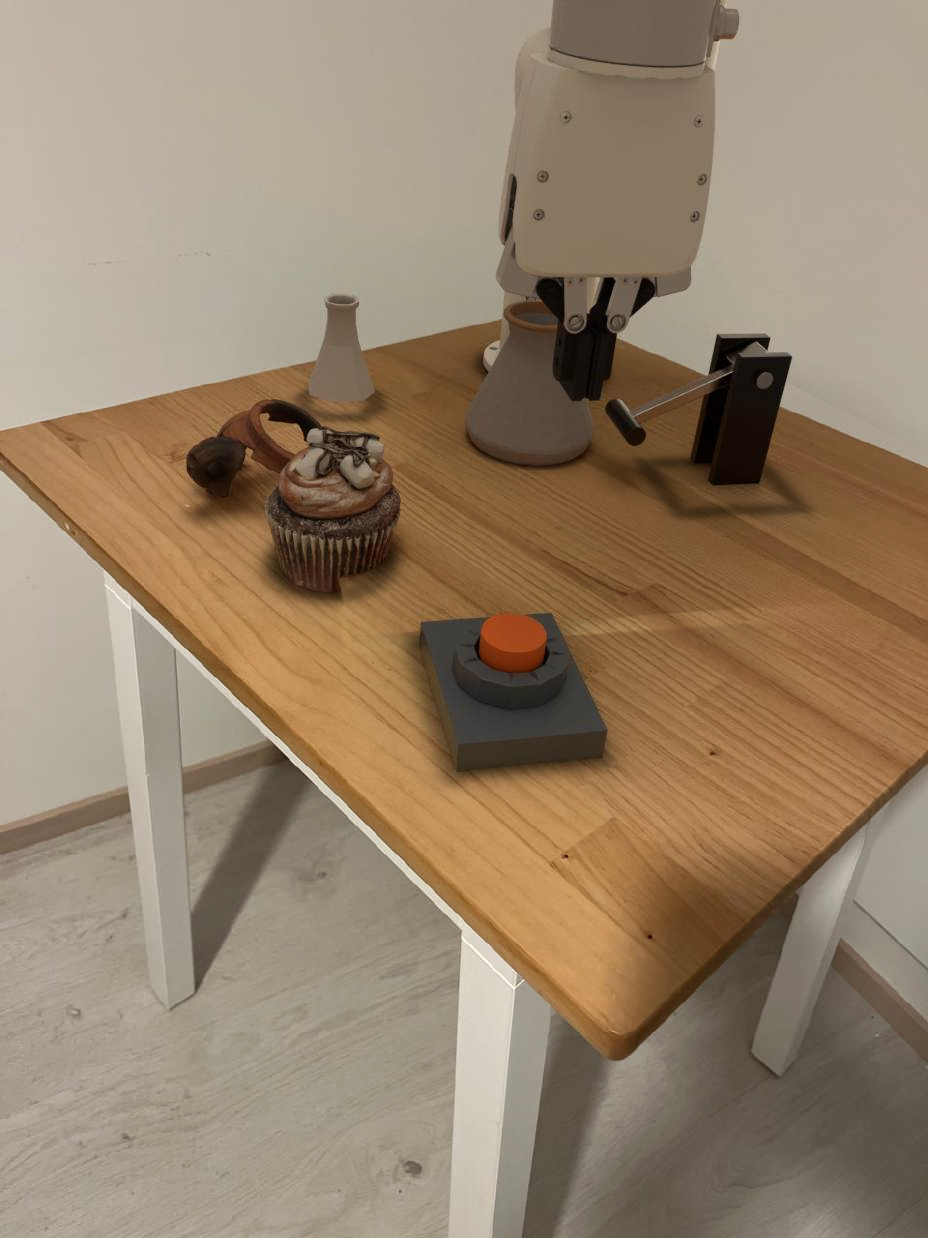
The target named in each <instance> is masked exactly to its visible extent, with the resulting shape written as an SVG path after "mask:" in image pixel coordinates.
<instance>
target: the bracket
mask: <svg viewBox="0 0 928 1238" xmlns="http://www.w3.org/2000/svg"><path fill="white" fill-rule="evenodd" d="M755 342H758V343H759V344H760V345H761V346H762V347H763V348H764V349H765V350H767V351H768V352H766V353H737V356H736V360H735V364H734V369H733V373H732V378H731V382H730V384H729V385H726V386H724V387H722V388H720V389H718V390H715V391H713V392H711V393H709V394H706V395H704V396H702V401H701V406H700V410H699V415H698V421H697V425H696V430H695V434H694V439H693V443H692V448H691V453H690V460H691V461H692V463H693V464H711V466H710V469H709V474H708V478H707V481H708V482H709V484H710V485H711V486H732V485H756V484H760V483H761V479H762V475H763V472H764V467H765V464H766V460H767V457H768V452H769V448H770V444H771V441H772V437H773V433H774V429H775V425H776V422H777V418H778V414H779V410H780V406H781V402H782V398H783V395H784V391H785V387H786V383H787V379H788V375H789V371H790V367H791V364H792V361H793V355H791V354H790V353H789V352H787V351H785V352H784V351H776V352H774V351H773V352H769V345H770V342H771V337H770V336H769V335H768V334H767V333H765V332H763V333H762V332H761V333H760V332H759V333H716V336H715V341H714V346H713V350H712V355H711V359H710V365H709V369H708V373H707V376H708V375H710V374H712V373H715V372H717V371H719V370H721V369H723V368H726V367H728V365H727V360H726V355H728V354H730V353H733V352H735V351H737V350H739V349H741V348H744V347H746V346H748V345H750V344H752V343H755Z"/></svg>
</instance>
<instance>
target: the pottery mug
mask: <svg viewBox="0 0 928 1238" xmlns="http://www.w3.org/2000/svg"><path fill="white" fill-rule="evenodd" d="M262 414H264V415H265V414H268V416H269V417H268V419H267V421H269V422H275V423H283V424H290V425H295V424H296V425H298V427H299V429H300V431H301V433H302V435H303V441H304V442H306V443H307V436H308V433H309V432H310V430H312V429H319V428H320V427H321V426H322V424H321V422H319V420H317V419H316V418H315V417H314V416H313V415H312V414H310V413H309V412H308V411H306V410H305V409H303V408H301V407H300V406H298V405H296V404H294V403H291V402H289V401H285V400H282V399H276V398H271V399H262V400H258V401H257V402H255V403H254V404H253V405H252V407H251V409H247V410H242V411H240V412H238V413H236V414H233V416H231V417H230V418H229V419H227V420H226V422H225V423H224V424H223V425H222V427H220V429H219V431H218V433H217V434H216V436H210V437H208V438H204V439H202V440H201V441H199V442H198V443H197V444H195V445H193V446H192V447H191V448H190V449H189V451H188V453H187V454H186V457H185V458H186V460H185V462H186V463H185V464H186V466H185V467H186V468H185V469H186V472H187V474H188V476H189V478H190V479H191V480H192V481H193V482H194V483H195V484H196V485H197V486H198V487H201V488H202V489H205V490H206V492H208V493H212V494H213V495H214V496H216V497H217V498H220V499H225V500H227V498H229V495H230V491H231V487H232V484H233V481H234V479H235V477H236V475H237V474H238V473H239V472H240V470H241V469H242V468H243V466H244V462H245V460H246V454H247V452H246V451H247V449H249V450H251V451H252V453H251V455H250V459H251V460H253V461H254V462H256V463H258V464H260V465H261V466H263V467H264V468H266V469H268V470H269V471H272V472H275V473H277V474H278V475H280V473H281V471H282V470H283V468H284V467H285V466H286V465H287V463H288V462H290V460H291V458H292V457H293V456H295V455H296V454H297V453H293V452H291V451H289V450H286V449H285V448H284V447H282V446H281V445H280V444H278V443H277V442H276V441H275V440H274V439H273V438H272V437H271V436H270V435H269V434H268V433H267V432H266V430H265V429H264V426H263V425H262V421H261V415H262Z"/></svg>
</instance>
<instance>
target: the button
mask: <svg viewBox="0 0 928 1238" xmlns="http://www.w3.org/2000/svg"><path fill="white" fill-rule="evenodd" d="M525 615H526V614H521V613H516V612H515V613H512V612H508V613H507V612H506V613H505V612H504V613H499V614H496V615H493V616H490V617H491V618H489V619H487V620H486V621H485V622H484V624H483V625H482V627H481V635H480V645H479V655H480V658H481V660H482V661H483V663H485V664H486V665H487V666H489V667H490V668H492V669H494V670H498V671H502V672H506V673H510V674H514V673H526V672H532V671H534V670H536V669H537V668H538V667H539V666H540V665H541V664H542V662H543V659H544V653H545V646H546V639H547V633H546V630H545V628H544V627H543V626H542V625H541V624H540V623H539V622H538V621H536V620H535V619H533V618H531V617H528V616H525Z"/></svg>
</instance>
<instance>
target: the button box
mask: <svg viewBox="0 0 928 1238" xmlns="http://www.w3.org/2000/svg"><path fill="white" fill-rule="evenodd" d="M524 615H525V616H528V617H531V618H533V619H535V620H536V621H538V622H539V623H540V624H541V625H542V626H543V627H544V628H545V630H546V633H547V639H546V646H545V653H544V659H543V662H542V664H541V665H540V666H539V667H538V668H537V669H536V670H534V671H532V672H526V673H514V674H510V673H506V672H502V671H498V670H494V669H492V668H490V667H489V666H487V665H486V664H485V663H483V661H482V660H481V658H480V655H479V645H480V635H481V627H482V625H483V624H484V622H485V621H486V620H487V619H489V618H491V617H492V616H484V617H483V616H482V617H470V618H469V617H468V618H456V619H454V618H453V619H440V620H428V621H427V620H425V621H421V622H420V627H419V628H420V631H419V647H418V648H419V651H420V655H421V659H422V662H423V665H424V669H425V672H426V676H427V678H428V682H429V686H430V690H431V693H432V695H433V699H434V703H435V706H436V709H437V712H438V716H439V719H440V723H441V725H442V726H441V727H442V729H443V732H444V736H445V739H446V743H447V746H448V750H449V753H450V756H451V760H452V763H453V766H454V767H453V768H454V770H455V772H466V771H476V770H486V769H496V768H497V769H498V768H506V767H507V768H508V767H516V766H528V765H535V764H536V765H537V764H546V763H547V764H548V763H556V762H557V763H559V762H567V761H577V760H586V759H595V758H596V759H597V758H603V756H604V750H605V746H606V740H607V736H608V728H607V725H606V724H605V722H604V720H603V718H602V715H601V713H600V711H599V709H598V707H597V705H596V703H595V701H594V698H593V696H592V694H591V692H590V690H589V688H588V686H587V684H586V682H585V680H584V677H583V675H582V673H581V671H580V669H579V667H578V666H577V663H576V660H575V658H574V657H573V654H572V652H571V651H570V648H569V646H568V644H567V642H566V640H565V638H564V636H563V634H562V632H561V628H560V627H559V625H558V623H557V621H556V619H555V616H554V614H553V613H552V612H544V613H527V614H524Z"/></svg>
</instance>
